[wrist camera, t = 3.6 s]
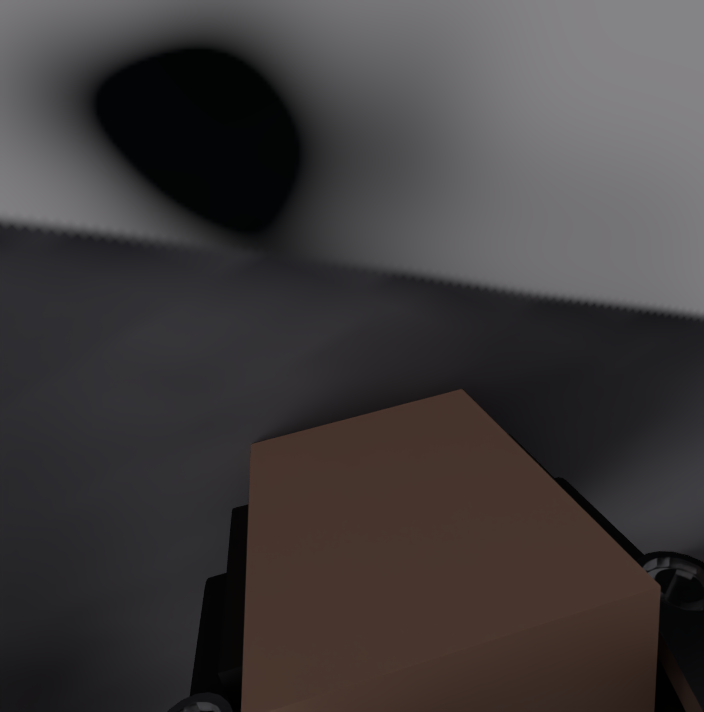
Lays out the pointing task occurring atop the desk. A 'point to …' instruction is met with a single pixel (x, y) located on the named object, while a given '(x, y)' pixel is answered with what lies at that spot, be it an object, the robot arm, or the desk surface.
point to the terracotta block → (434, 576)
